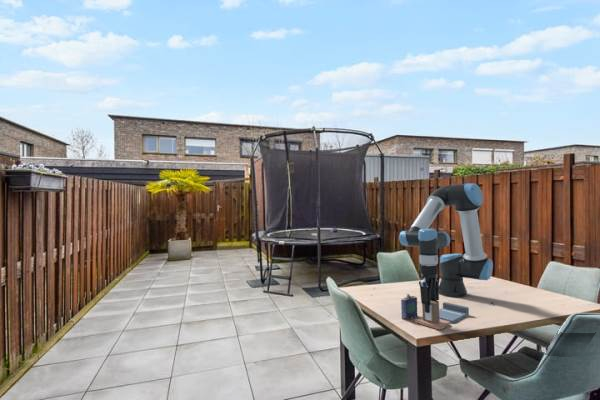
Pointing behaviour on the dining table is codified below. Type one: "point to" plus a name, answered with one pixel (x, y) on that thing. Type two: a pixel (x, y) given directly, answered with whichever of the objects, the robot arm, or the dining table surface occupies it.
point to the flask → (409, 307)
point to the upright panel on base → (433, 317)
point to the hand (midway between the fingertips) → (431, 318)
